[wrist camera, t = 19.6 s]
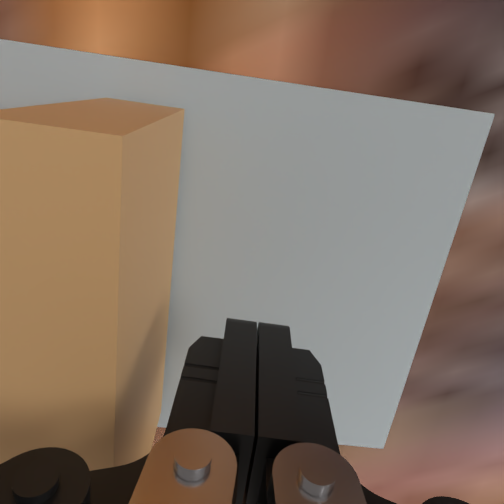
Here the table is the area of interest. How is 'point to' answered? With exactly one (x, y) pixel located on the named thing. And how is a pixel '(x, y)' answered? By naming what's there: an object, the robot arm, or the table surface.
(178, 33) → the table surface
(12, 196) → the sliding jaw
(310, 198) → the vise base
